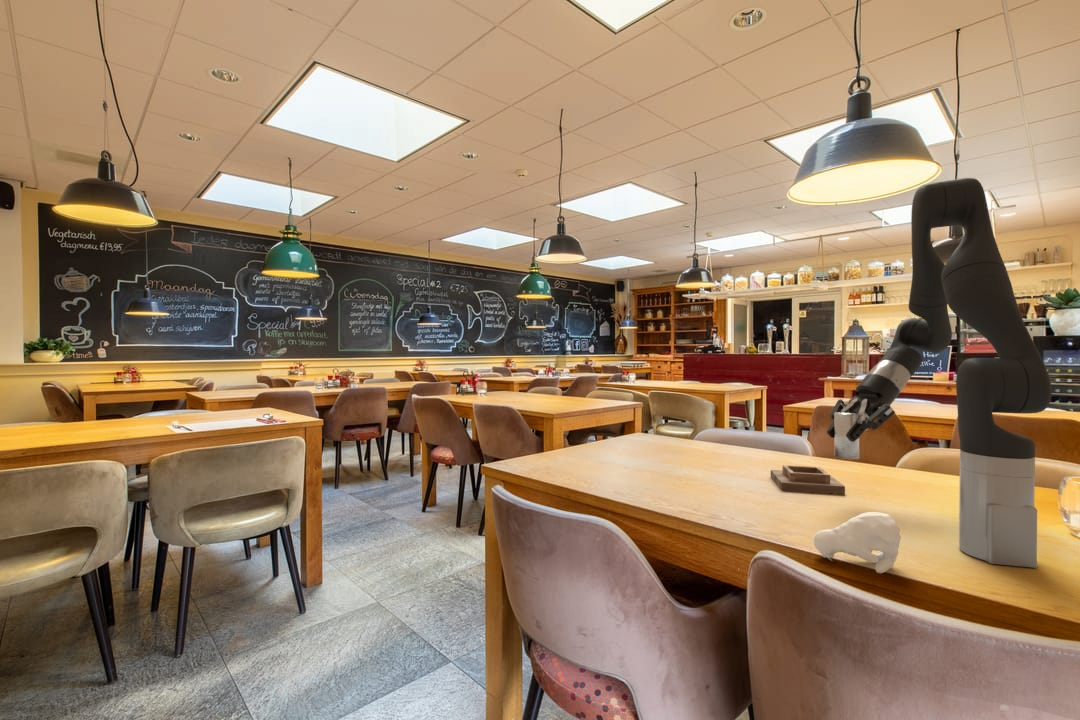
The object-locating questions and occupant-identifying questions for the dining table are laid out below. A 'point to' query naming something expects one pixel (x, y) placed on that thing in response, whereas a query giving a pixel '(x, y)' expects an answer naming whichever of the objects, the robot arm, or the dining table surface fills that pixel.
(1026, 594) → the dining table surface
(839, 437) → the steel canister
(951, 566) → the dining table surface
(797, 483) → the plate
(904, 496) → the dining table surface
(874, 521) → the white animal figurine
